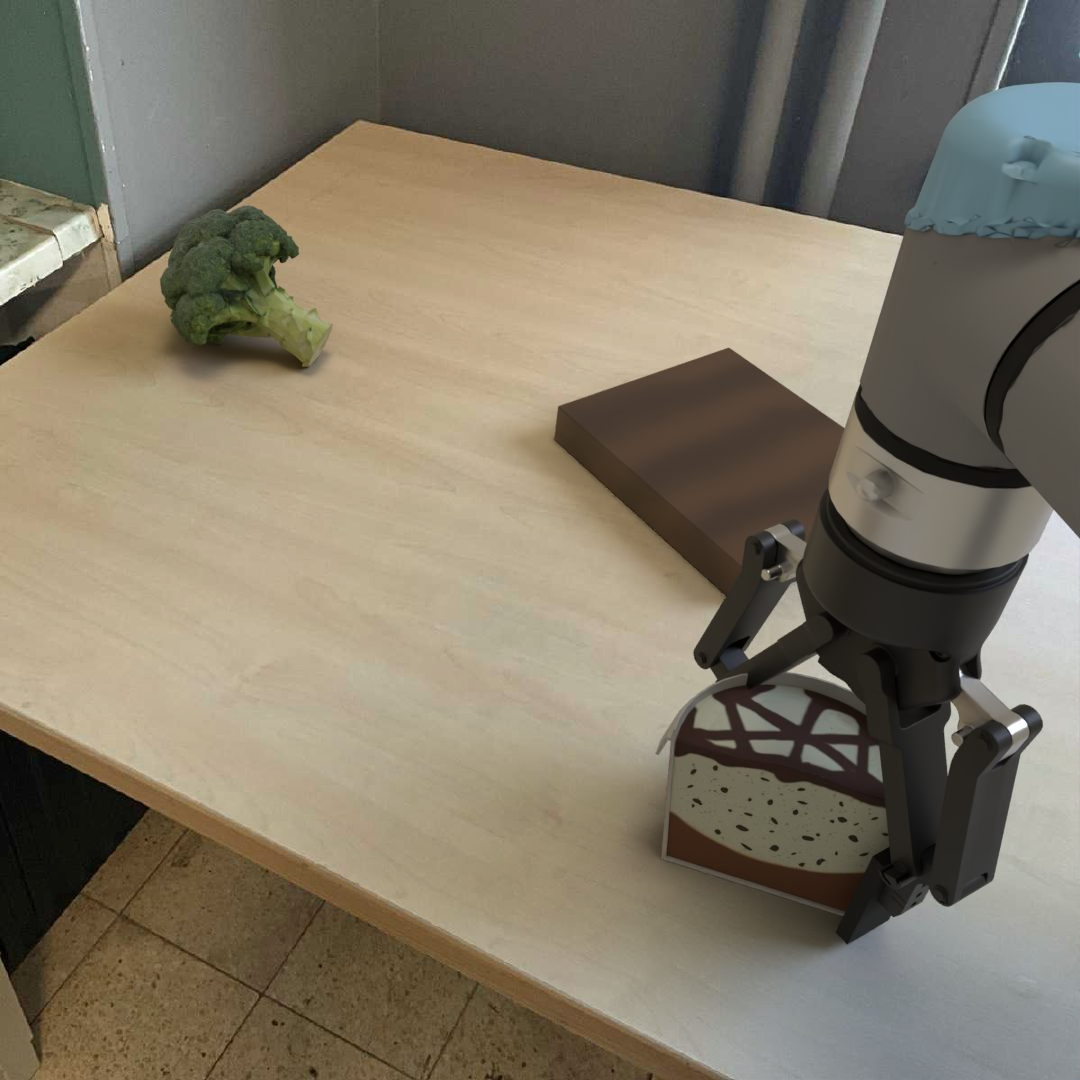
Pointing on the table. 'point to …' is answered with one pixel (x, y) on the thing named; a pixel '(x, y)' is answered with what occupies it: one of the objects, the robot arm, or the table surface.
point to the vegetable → (237, 284)
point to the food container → (776, 788)
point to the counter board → (706, 455)
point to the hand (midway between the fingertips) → (790, 849)
